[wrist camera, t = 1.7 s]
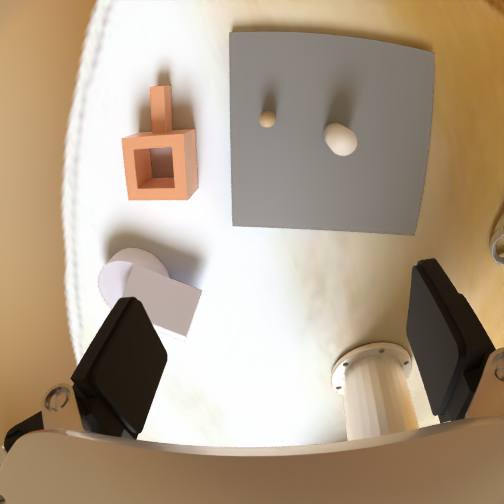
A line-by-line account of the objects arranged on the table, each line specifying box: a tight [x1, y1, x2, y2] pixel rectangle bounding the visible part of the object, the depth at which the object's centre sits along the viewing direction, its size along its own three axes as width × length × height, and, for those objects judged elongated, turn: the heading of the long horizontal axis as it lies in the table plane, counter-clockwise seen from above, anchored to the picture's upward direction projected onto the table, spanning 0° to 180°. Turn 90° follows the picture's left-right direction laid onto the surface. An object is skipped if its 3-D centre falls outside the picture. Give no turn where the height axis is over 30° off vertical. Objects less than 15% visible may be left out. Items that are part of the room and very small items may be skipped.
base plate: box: [229, 31, 434, 235], centre depth 27 cm, size 20×20×6 cm
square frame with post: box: [122, 85, 198, 200], centre depth 30 cm, size 11×6×4 cm, turn 0°
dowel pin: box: [259, 111, 276, 127], centre depth 27 cm, size 1×1×2 cm
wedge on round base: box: [98, 248, 202, 342], centre depth 38 cm, size 9×7×13 cm
